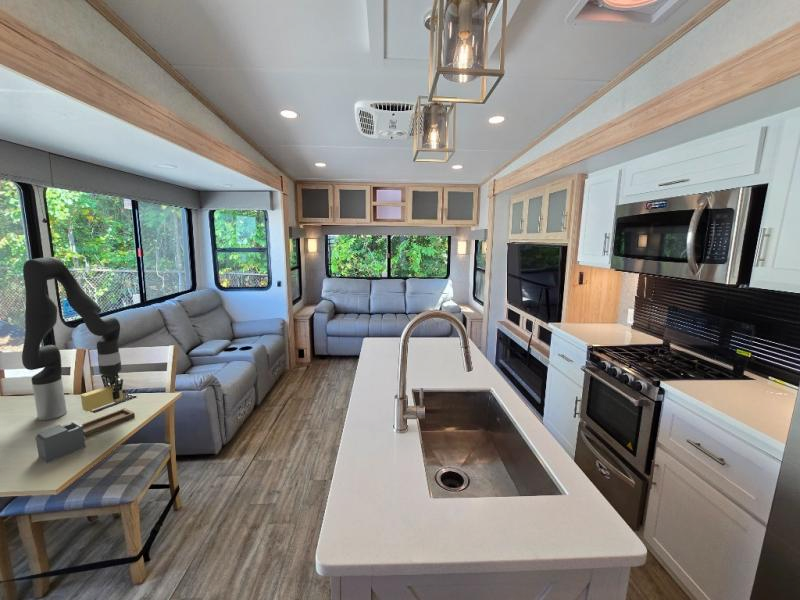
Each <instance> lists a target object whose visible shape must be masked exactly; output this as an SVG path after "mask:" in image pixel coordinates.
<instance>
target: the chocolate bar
mask: <svg viewBox="0 0 800 600" xmlns="http://www.w3.org/2000/svg"><path fill="white" fill-rule="evenodd" d="M122 393H123V399H122V400H119V401H116V402H113V403H110V404H107V405H105V406H102V407H99V408H96V409H93V410H90V411H91V412H92V413H97V412H99V411H102V410H105V409H108V408H110V407H113V405H114V406H116V405H118V404H121V402H122V403H124V402H127V401H129V399H130V400H132V398H133V399H136V398H137V397H136V396H137V395H136V396H132V395H128V394H132V393H130V392H129V391H126V392H122ZM126 396H127V397H126ZM129 396H130V397H129ZM126 400H127V401H126ZM90 411H89V412H90Z"/></svg>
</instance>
